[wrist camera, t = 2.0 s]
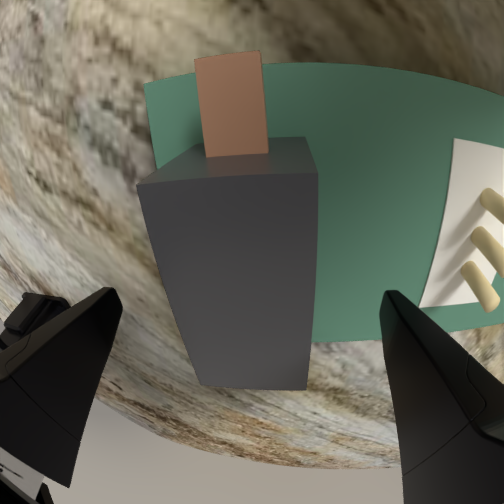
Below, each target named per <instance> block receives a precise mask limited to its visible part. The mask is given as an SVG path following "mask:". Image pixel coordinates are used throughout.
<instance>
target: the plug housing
mask: <svg viewBox="0 0 504 504" xmlns="http://www.w3.org/2000/svg"><path fill="white" fill-rule="evenodd" d="M194 62H195V71H196V80H197V89H198V98H199V106H200V114H201V122H202V130H203V138H204V143H200V144H195V145H194V146H192V147H191V148H189V149H187V150H186V151H184V152H183V153H181V154H180V155H178V156H177V157H175V158H174V159H172V160H171V161H169V162H168V163H166V164H165V165H163V166H162V167H161V168H159V169H158V170H156V171H155V172H153V173H152V174H151V175H149V176H148V177H146V178H145V179H144V180H142V181H141V182H140V183H138V184H137V185H136V187H137V191H138V195H139V200H140V204H141V208H142V212H143V216H144V219H145V223H146V227H147V231H148V234H149V238H150V242H151V245H152V249H153V252H154V256H155V259H156V262H157V266H158V269H159V272H160V275H161V278H162V282H163V285H164V288H165V291H166V294H167V297H168V300H169V303H170V306H171V309H172V312H173V314H174V317H175V320H176V323H177V326H178V328H179V331H180V334H181V337H182V339H183V342H184V345H185V347H186V350H187V352H188V355H189V357H190V360H191V362H192V365H193V367H194V370H195V372H196V375H197V377H198V379H199V382H200V384H201V385H207V386H216V387H227V388H240V389H258V390H306V388H307V379H308V370H309V361H310V351H311V340H312V329H313V316H314V302H315V286H316V267H317V241H318V171H317V168H316V165H315V162H314V159H313V157H312V154H311V151H310V148H309V146H308V143H307V140H306V138H305V137H277V138H268V127H267V115H266V103H265V91H264V80H263V69H262V58H261V52H260V51H249V52H239V53H231V54H223V55H216V56H210V57H204V58H198V59H194Z"/></svg>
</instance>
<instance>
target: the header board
mask: <svg viewBox="0 0 504 504" xmlns="http://www.w3.org/2000/svg"><path fill="white" fill-rule="evenodd" d="M262 69H263V80H264V91H265V103H266V115H267V127H268V138H277V137H305V138H306V140H307V143H308V146H309V148H310V151H311V154H312V157H313V159H314V162H315V165H316V168H317V171H318V241H317V267H316V286H315V302H314V316H313V329H312V340H311V342H342V341H363V340H379V339H382V335H381V327H380V319H379V310H380V306H381V302H382V298H383V294H384V292H385V291H386V290H398V291H400V292H401V293H402V294H403V295H404V296H406V297H407V298H408V299H409V300H410V301H411V302H413V303H414V304H415V305H416V306H417V307H418V308H420V309H421V310H422V311H423V312H424V313H425V314H426V315H428V316H429V317H430V318H431V319H432V320H433V321H434V322H436V323H437V324H438V325H439V326H440V327H441V328H442V329H443V330H444V331H446V332H454V331H461V330H467V329H473V328H479V327H485V326H490V325H496V324H501V323H504V96H501V95H498V94H496V93H493V92H490V91H487V90H484V89H481V88H478V87H474V86H471V85H468V84H464V83H461V82H457V81H453V80H449V79H445V78H441V77H437V76H432V75H427V74H422V73H417V72H412V71H406V70H400V69H393V68H386V67H377V66H368V65H357V64H342V63H273V64H262ZM144 91H145V99H146V106H147V113H148V119H149V126H150V132H151V138H152V144H153V149H154V155H155V161H156V166H157V170H158V169H159V168H161V167H162V166H163V165H165V164H166V163H168V162H169V161H171V160H172V159H174V158H175V157H177V156H178V155H180V154H181V153H183V152H184V151H186V150H187V149H189V148H191V147H192V146H194V145H195V144H200V143H204V138H203V130H202V122H201V114H200V106H199V98H198V89H197V80H196V73H190V74H185V75H180V76H175V77H171V78H166V79H162V80H158V81H153V82H149V83H146V84H144Z"/></svg>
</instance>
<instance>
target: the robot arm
mask: <svg viewBox="0 0 504 504" xmlns="http://www.w3.org/2000/svg"><path fill="white" fill-rule="evenodd" d="M22 298H23V300H22V301H21V302H20V304H19V305H18V306H17V307H16V308H15V309H14V311H13V312H12V313H11V314H10V315H9V317H8V318H7V319H6V320H5V322H4V326H5V330H4V331H3V332H2V333H1V335H0V504H54V503H53V500H52V498H51V495H50V493H49V489H48V486H47V485H46V484H45V483H43V482H42V481H43V478H44V476H46V477H48V478H50V479H52V480H53V481H56V482H57V483H59V484H61V485H63V486H65V487H67V488H69V487H70V484H71V479H72V475H73V471H74V466H75V463H76V458H77V454H78V450H79V447H80V443H81V442H80V441H81V439H82V435H83V432H84V428H85V425H86V421H87V418H88V415H89V411H90V408H91V405H92V402H93V399H94V396H95V393H96V390H97V387H98V384H99V381H100V378H101V376H102V373H103V370H104V367H105V364H106V362H107V359H108V356H109V354H110V351H111V348H112V345H113V342H114V338H115V335H116V331H117V328H118V324H119V321H120V318H121V314H122V311H123V306H122V303H121V301H120V299H119V296H118V294H117V292H116V290H115V289H114V288H112V287H103V288H102V289H100V290H98V291H97V292H95V293H93V294H92V295H90V296H88V297H87V298H85V299H84V300H82V301H80V302H79V303H77V304H75V305H74V306H72V307H71V308H70V307H69V305H68V303H67V301H66V300H65V299H63V298H61V297H54V296H47V295H40V294H33V293H27V292H25V293H24V294H23V295H22ZM379 319H380V327H381V335H382V343H383V353H384V360H385V365H386V370H387V375H388V380H389V385H390V390H391V396H392V401H393V407H394V413H395V419H396V426H397V433H398V441H399V449H400V458H401V468H402V482H403V497H404V504H504V384H502V383H501V382H500V381H499V380H498V379H497V378H495V377H494V376H493V375H492V374H491V373H490V372H488V371H487V370H486V369H485V368H484V367H483V366H482V365H481V364H480V363H479V362H478V361H477V360H476V359H475V358H473V357H472V356H471V355H470V354H469V353H468V352H467V351H466V350H465V349H464V348H463V347H462V346H461V345H460V344H459V343H458V342H456V341H455V340H454V339H453V338H452V337H451V336H450V335H449V334H448V333H447V332H446V331H444V330H443V329H442V328H441V327H440V326H439V325H438V324H437V323H436V322H434V321H433V320H432V319H431V318H430V317H429V316H428V315H426V314H425V313H424V312H423V311H422V310H421V309H420V308H418V307H417V306H416V305H415V304H414V303H413V302H411V301H410V300H409V299H408V298H407V297H406V296H404V295H403V294H402V293H401V292H400V291H398V290H386V291H385V292H384V294H383V298H382V302H381V306H380V310H379Z"/></svg>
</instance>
